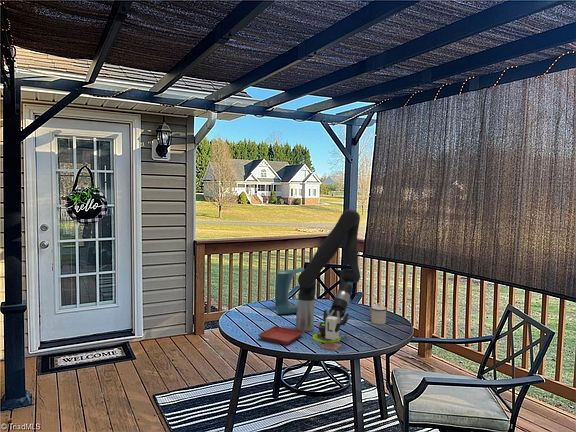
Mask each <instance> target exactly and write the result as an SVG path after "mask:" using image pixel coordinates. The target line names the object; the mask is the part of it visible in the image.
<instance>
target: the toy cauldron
mask: <svg viewBox="0 0 576 432" xmlns="http://www.w3.org/2000/svg"><path fill="white" fill-rule="evenodd" d="M321 320H322V318H320V320H319V321H320V322H317V323H316V326H318V331H319V333H315V334H313V336H312V339H313V340H314V341H316V342H320V343H326V342H327V341H328V342H333V343H338V342H340V341H341V340H342V339H341V336H339V337H338V338H337V339H335V340H332V339H327V338H325V332H326V330H325V328H324V325H325V323H326V322H324V321H321Z"/></svg>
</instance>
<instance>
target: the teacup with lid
mask: <svg viewBox="0 0 576 432" xmlns="http://www.w3.org/2000/svg"><path fill="white" fill-rule="evenodd" d="M369 314H370V316H371V318H370V322H371V323H372V324H374V325H385V324H386V321H387V319H386V318H387V307H386V306H383V305H382V303H381V302H378V303H377V304H376V305H372V306H371V308H370V309H369Z"/></svg>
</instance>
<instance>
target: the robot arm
mask: <svg viewBox="0 0 576 432" xmlns="http://www.w3.org/2000/svg"><path fill="white" fill-rule="evenodd" d="M360 221H361V215H360V213H359V212H358V211H356V210H354V209H352V208H347V209H345V210H343V212H342V213H341V215H340V217H339V219H338V220H337V222H336V224H335V225H334V227H333V228H332V229H331V231H330V232H329V234H327V236H325V239H323V241H322V243H321V244H320V245H319V247H318V249H317V250H316V252H315V253H314V255H313V258H312V259H311V260H310V262H309V264H308V265H307V266H306V267H305V268H304V269H305V270H304V271H302V272H300V274H299V275H298V277H297V283H298V285H299V291H298V297H297V298H298V299H297V305H298V312H297V313H295V314H296V315H295V316H296V317H295V320H296V321H295V330H299V331H303V332H307V333H308V332H312V331H314V327H315V305H314V304H316V300H315V299H316V298H315V297H316V287H317V277H318V276H319V274H320V272H321V271H322V270H323V269H324V268H325V267H326V266H327V265H328V263H329V262H330V261H331V260H332V258H333V257H334V256H335V255H336V253H337V252H338V250H339V249H340V247H341V246H342V245H341V244H342V243H343V240H344V238H345V242H344V243H345V244H344V250H343V263H344V265H346V266H347V265H348V266H350V268H351V269H349V268H348V269H347V268H345V269H343V270H341V272H340V278H339V281H340V282H339V285H338V290H337V292H336V294H335V296H334V299H333V301H332V304H331V307H330V308H329V310H327V309H324V310H323V316H322V320H323V322H326V318H327V317H329V316H334V317H337V318H338V324H337V325H336V328H335V332H337V331H339V332H340V328H341V326H343V327H344V326H345V325H346V324H347V322H348V321H349V319H350V316H351V315H350V314H349V313H348V312H347V308H348V306H349V304H350V303H349V302H350V299H351V296H352V292H353V286H352V284H351V283H353V284H357V283H359V282H360V280H361V272H360V269H359V264H358V232H359V227H360V226H359V225H360ZM346 312H347V313H346ZM324 328H325V330H326V323H325V325H324Z"/></svg>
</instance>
